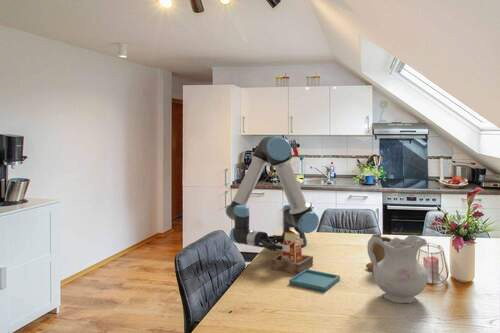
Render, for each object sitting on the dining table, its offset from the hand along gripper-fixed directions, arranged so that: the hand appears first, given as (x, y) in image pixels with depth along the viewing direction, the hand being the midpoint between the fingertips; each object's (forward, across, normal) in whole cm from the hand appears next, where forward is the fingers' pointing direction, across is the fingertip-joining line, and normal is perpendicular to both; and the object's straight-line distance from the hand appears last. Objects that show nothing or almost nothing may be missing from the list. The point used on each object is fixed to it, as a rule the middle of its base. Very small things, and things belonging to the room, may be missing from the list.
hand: (296, 245), depth 190 cm
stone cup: (+35, +20, +11) cm, 42 cm away
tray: (+15, -12, +11) cm, 22 cm away
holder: (-2, 0, +11) cm, 11 cm away
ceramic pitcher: (+48, -10, +11) cm, 50 cm away
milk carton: (-2, 0, +11) cm, 11 cm away
